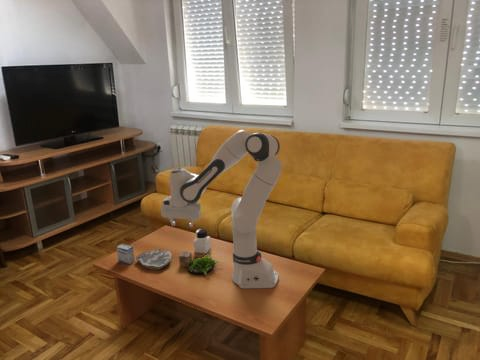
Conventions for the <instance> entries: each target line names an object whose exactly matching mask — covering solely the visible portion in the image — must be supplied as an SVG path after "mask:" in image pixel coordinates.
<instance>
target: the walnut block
mask: <svg viewBox="0 0 480 360" xmlns="http://www.w3.org/2000/svg"><path fill="white" fill-rule="evenodd" d="M178 260H179V267H184V268H185V267H186V268H189V267H188V264H189V263H190V262H191V261H192V262H193V256H192V251H182V252H181V253H180V254H179V255H178Z"/></svg>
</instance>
